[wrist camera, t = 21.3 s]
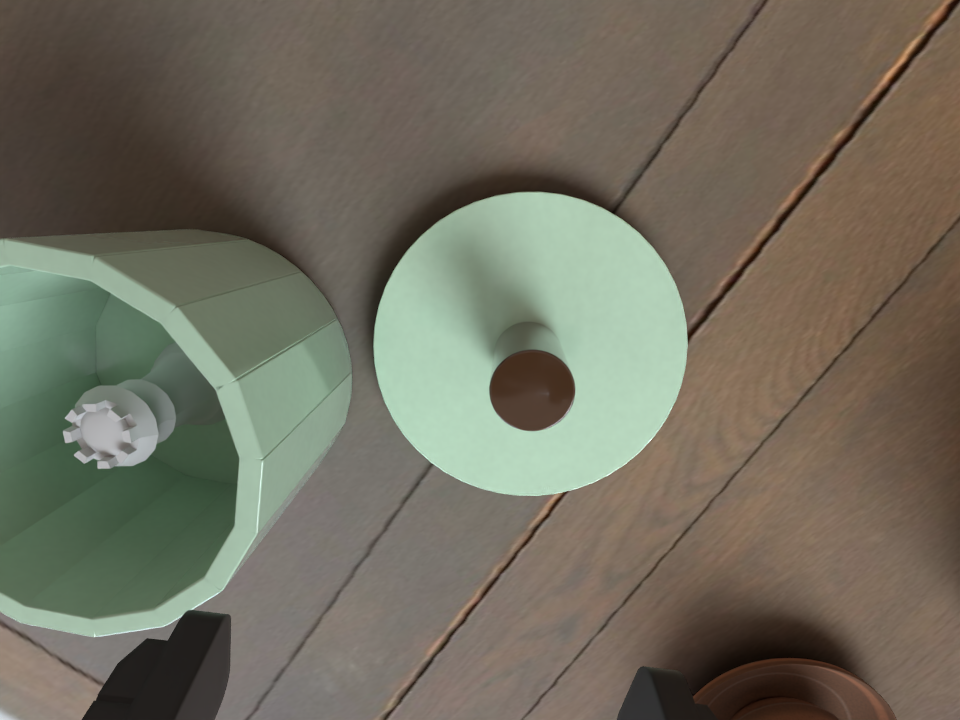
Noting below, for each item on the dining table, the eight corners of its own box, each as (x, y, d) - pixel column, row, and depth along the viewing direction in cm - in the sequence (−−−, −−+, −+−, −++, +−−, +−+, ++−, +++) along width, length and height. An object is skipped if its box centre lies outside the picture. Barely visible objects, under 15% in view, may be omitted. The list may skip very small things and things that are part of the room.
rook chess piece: (260, 338, 27) (159, 389, 19) (255, 423, 28) (157, 503, 20) (170, 322, 27) (32, 366, 19) (168, 407, 28) (38, 481, 20)
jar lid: (361, 456, 29) (318, 526, 22) (400, 164, 25) (362, 147, 18) (636, 509, 29) (672, 594, 22) (719, 225, 25) (791, 229, 18)
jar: (89, 464, 30) (-130, 594, 20) (87, 206, 26) (-182, 202, 16) (336, 512, 30) (245, 667, 19) (368, 260, 26) (278, 290, 16)
